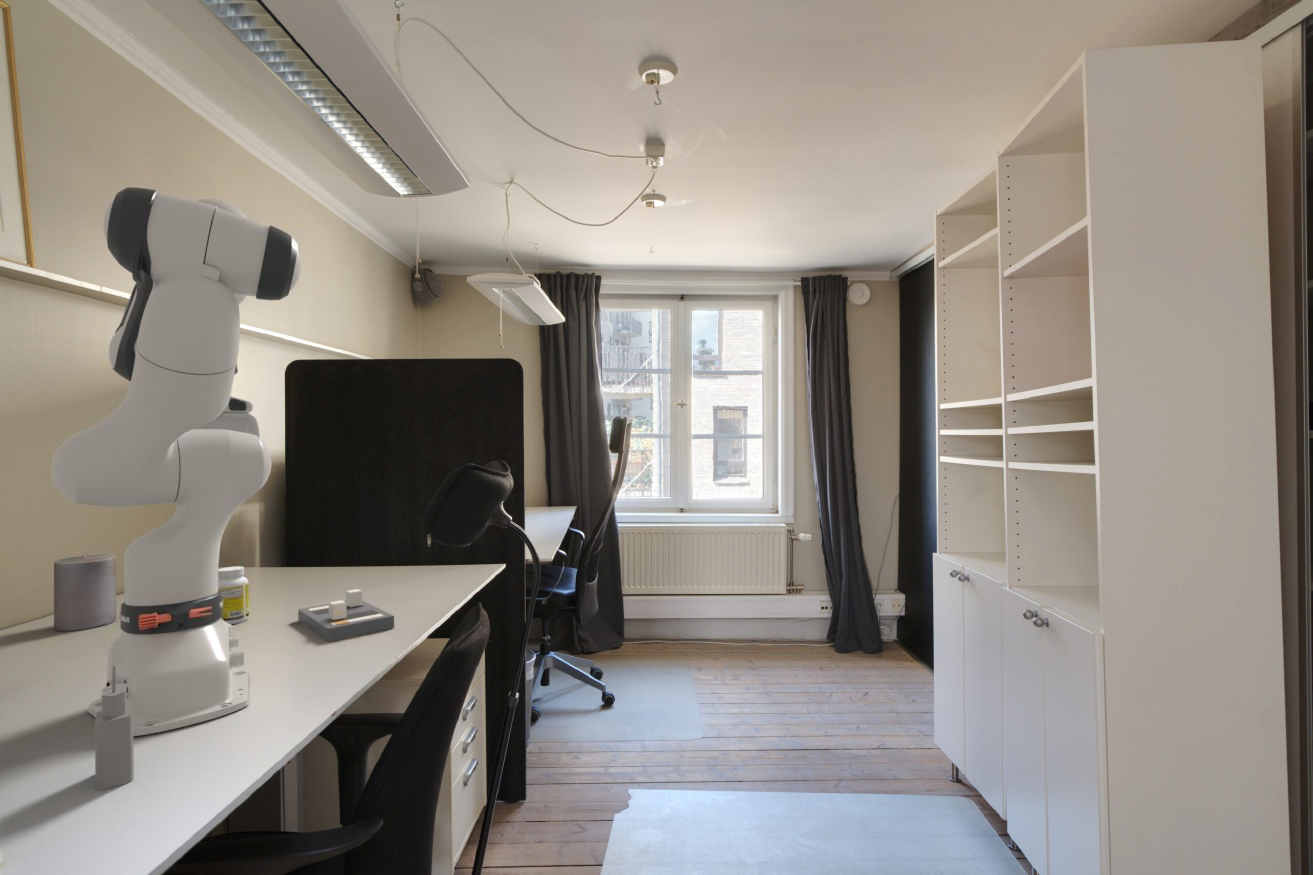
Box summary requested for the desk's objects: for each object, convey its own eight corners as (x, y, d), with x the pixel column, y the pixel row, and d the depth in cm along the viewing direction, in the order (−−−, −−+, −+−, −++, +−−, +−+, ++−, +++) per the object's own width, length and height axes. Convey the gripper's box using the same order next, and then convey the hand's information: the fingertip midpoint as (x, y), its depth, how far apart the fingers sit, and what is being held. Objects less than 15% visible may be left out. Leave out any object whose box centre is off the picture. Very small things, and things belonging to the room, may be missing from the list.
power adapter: (133, 762, 74) (132, 658, 74) (133, 781, 69) (131, 671, 69) (97, 771, 72) (96, 664, 72) (95, 792, 67) (93, 678, 67)
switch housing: (394, 627, 126) (394, 615, 126) (328, 641, 118) (328, 628, 118) (358, 609, 141) (358, 598, 141) (298, 620, 132) (298, 608, 132)
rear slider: (362, 605, 134) (361, 590, 134) (350, 607, 133) (349, 592, 133) (357, 603, 136) (357, 588, 136) (345, 605, 134) (345, 590, 134)
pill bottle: (230, 617, 136) (229, 565, 136) (256, 617, 136) (255, 565, 136) (205, 625, 130) (205, 571, 130) (233, 626, 129) (232, 571, 129)
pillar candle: (65, 622, 135) (64, 550, 135) (123, 615, 139) (122, 546, 139) (44, 634, 126) (43, 558, 126) (107, 627, 130) (106, 553, 130)
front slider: (346, 617, 125) (346, 602, 125) (333, 620, 123) (332, 604, 123) (342, 615, 126) (341, 600, 126) (328, 617, 125) (328, 602, 125)
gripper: (131, 400, 115) (132, 477, 115) (261, 403, 129) (262, 471, 129) (128, 402, 120) (129, 476, 120) (254, 405, 134) (255, 471, 134)
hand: (199, 473), depth 125 cm, fingers closed
